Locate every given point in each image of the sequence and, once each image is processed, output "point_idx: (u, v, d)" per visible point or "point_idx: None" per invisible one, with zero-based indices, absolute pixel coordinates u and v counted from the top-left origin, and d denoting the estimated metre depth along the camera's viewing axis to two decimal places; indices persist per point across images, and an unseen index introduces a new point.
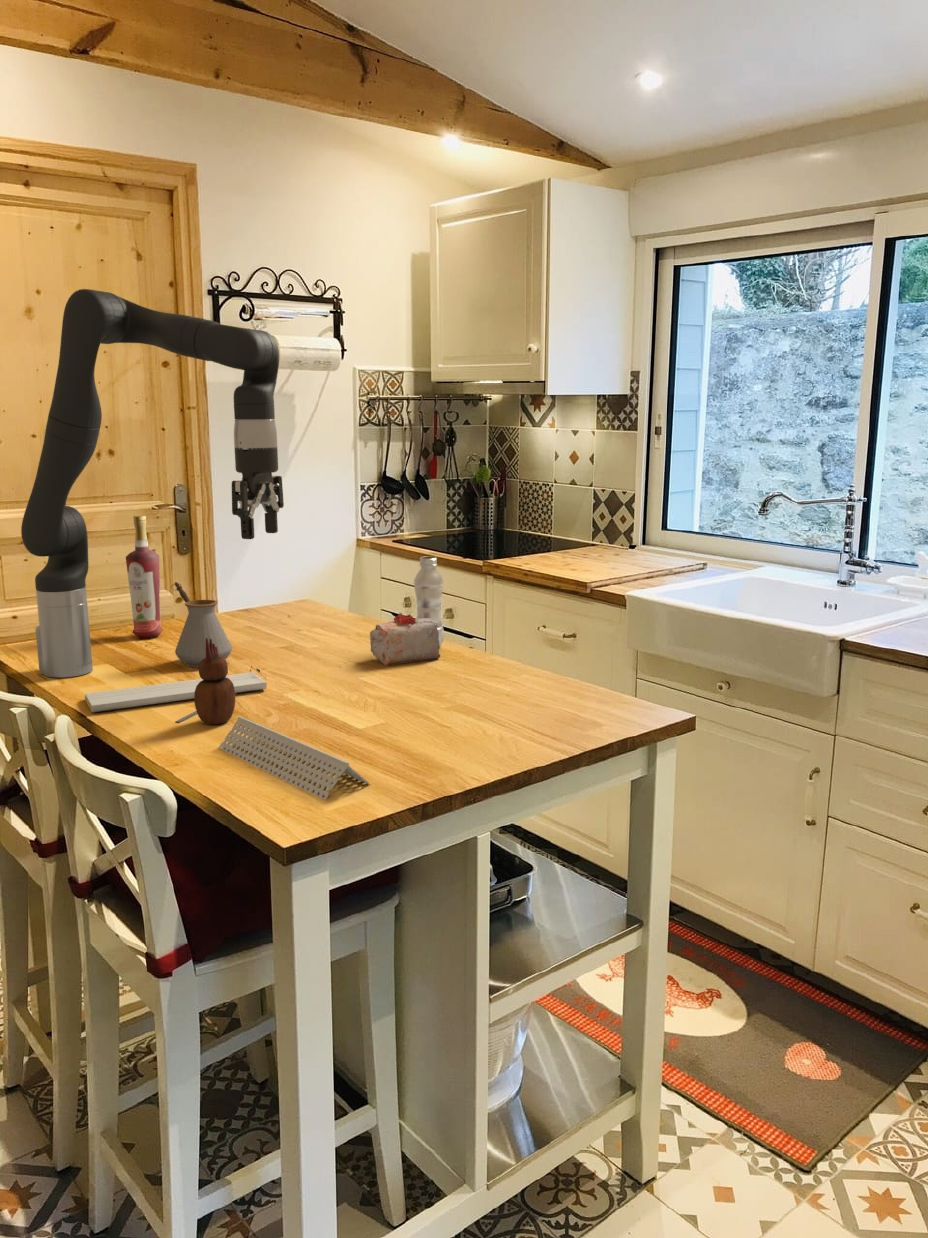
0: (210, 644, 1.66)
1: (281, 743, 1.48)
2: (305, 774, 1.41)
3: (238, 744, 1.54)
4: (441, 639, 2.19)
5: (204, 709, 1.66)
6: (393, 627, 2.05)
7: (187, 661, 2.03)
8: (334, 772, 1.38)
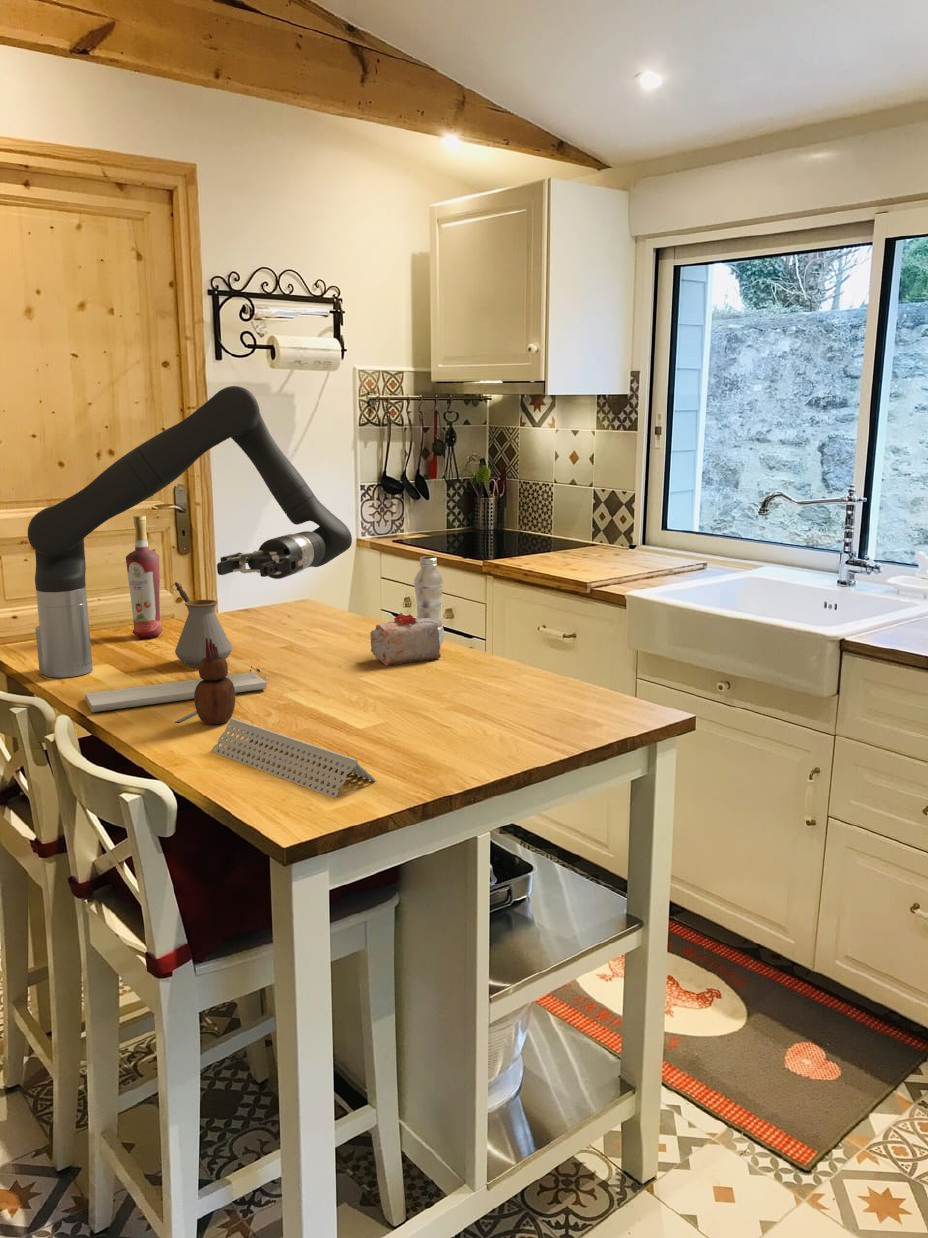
0: (210, 644, 1.66)
1: (281, 743, 1.48)
2: (311, 772, 1.41)
3: (233, 746, 1.53)
4: (441, 639, 2.19)
5: (204, 709, 1.66)
6: (393, 627, 2.04)
7: (187, 661, 2.03)
8: (342, 770, 1.39)
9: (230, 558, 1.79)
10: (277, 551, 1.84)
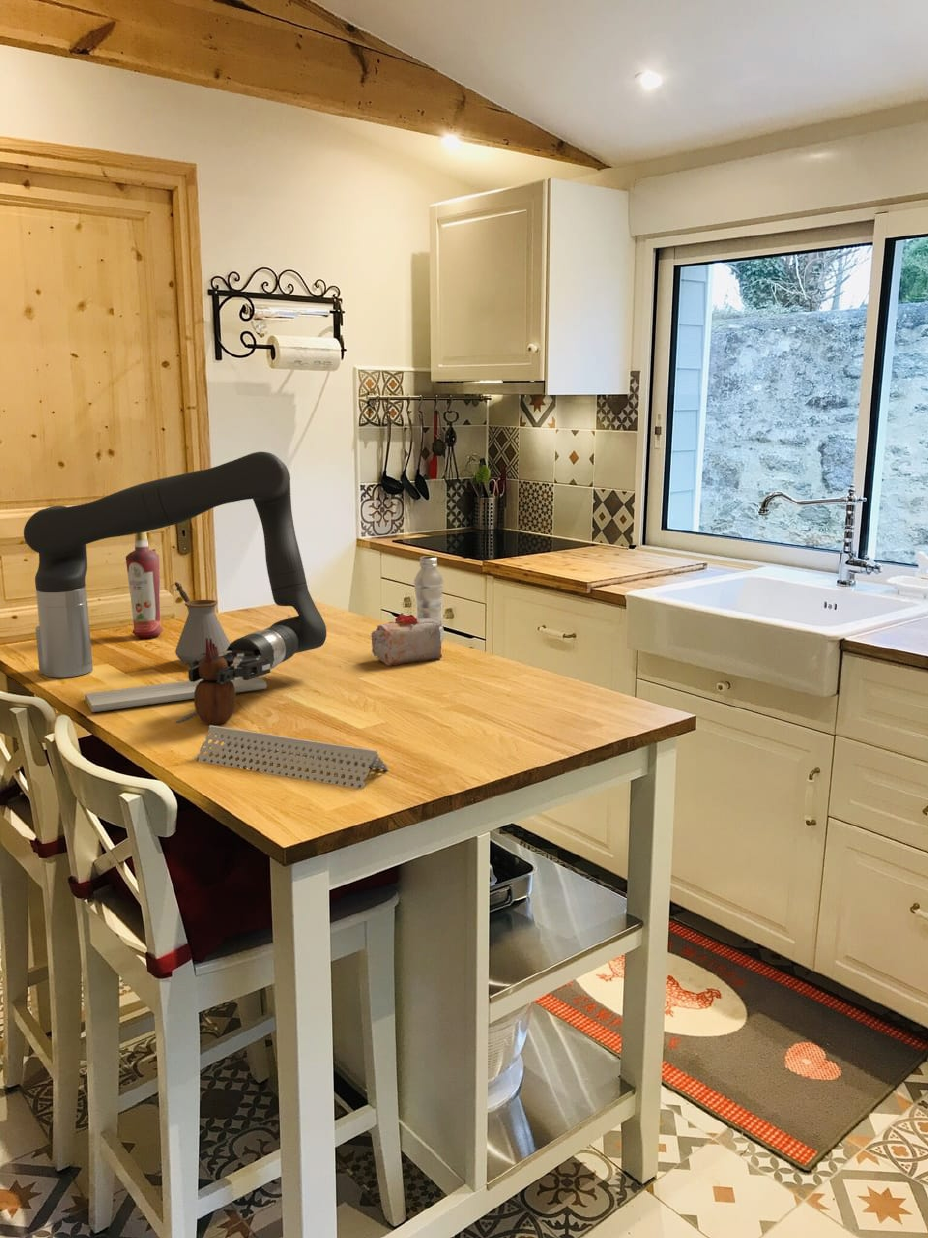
0: (210, 644, 1.66)
1: (280, 744, 1.48)
2: (327, 768, 1.43)
3: (222, 753, 1.50)
4: (441, 639, 2.19)
5: (204, 709, 1.66)
6: (395, 628, 2.04)
7: (187, 661, 2.03)
8: (362, 762, 1.42)
9: None
10: (247, 651, 1.76)
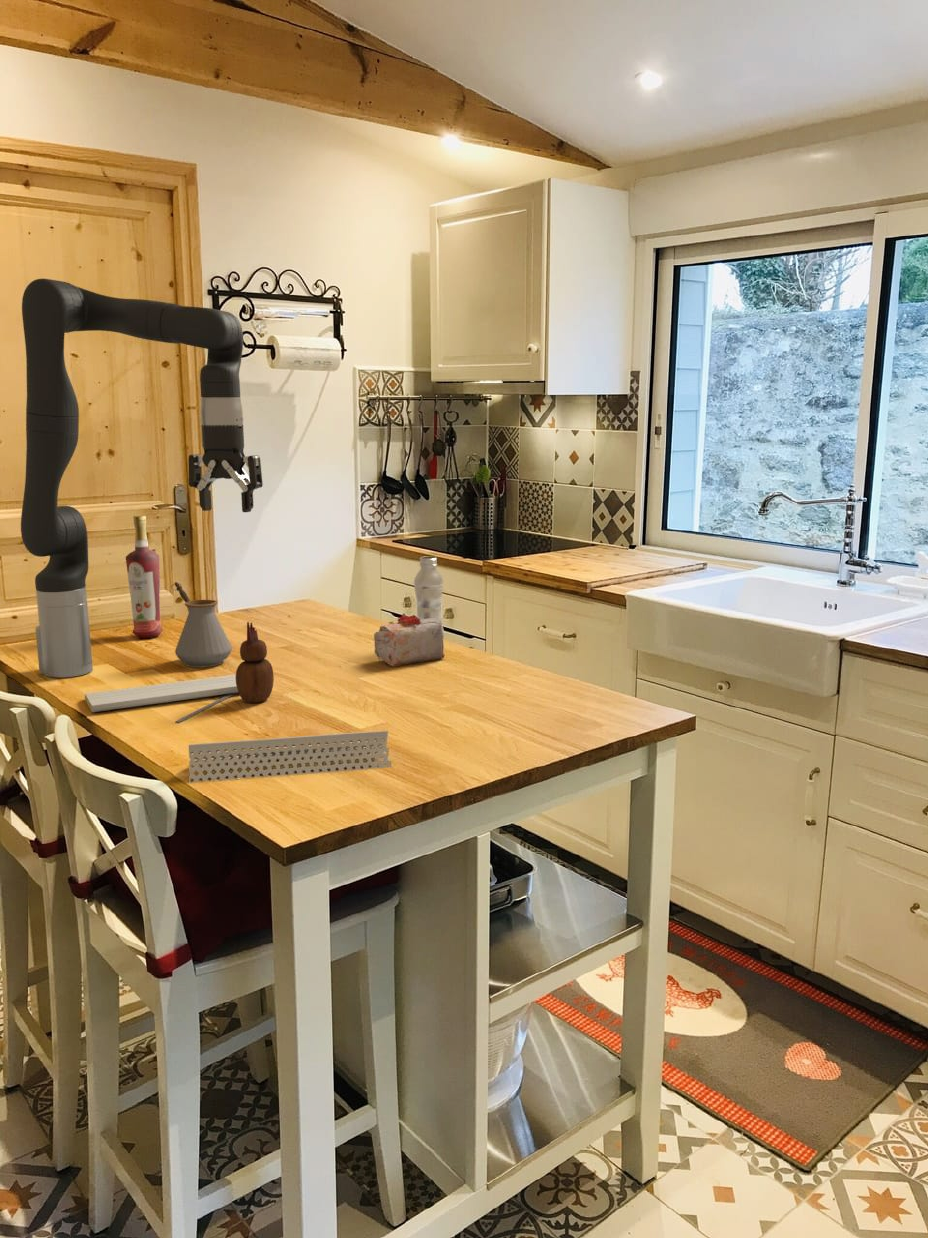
0: (251, 628, 1.78)
1: (282, 746, 1.47)
2: (345, 757, 1.47)
3: (218, 768, 1.44)
4: None
5: (245, 688, 1.78)
6: (399, 628, 2.04)
7: (187, 661, 2.03)
8: (378, 743, 1.50)
9: (200, 488, 1.86)
10: (223, 449, 1.83)
